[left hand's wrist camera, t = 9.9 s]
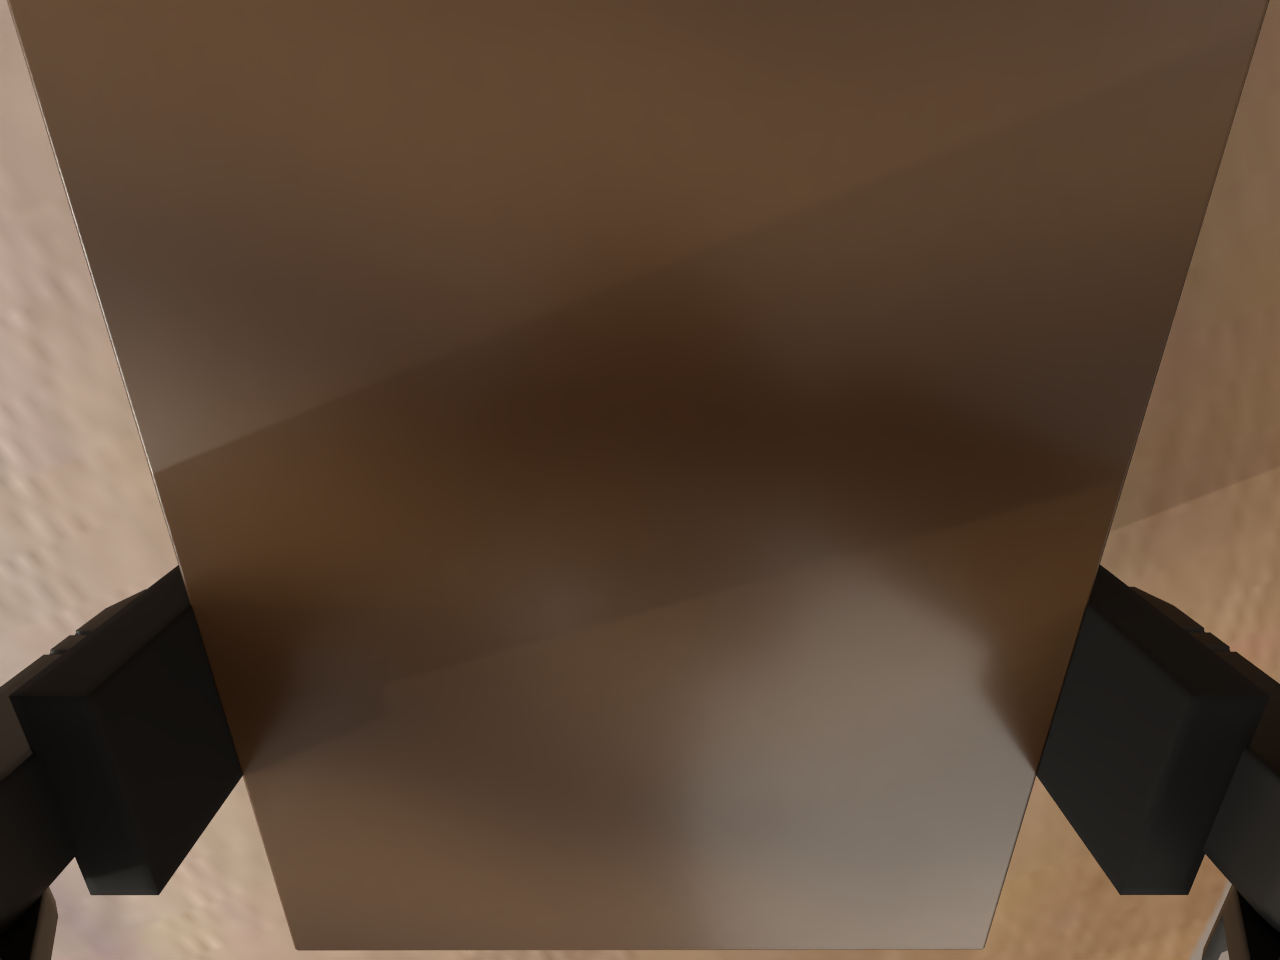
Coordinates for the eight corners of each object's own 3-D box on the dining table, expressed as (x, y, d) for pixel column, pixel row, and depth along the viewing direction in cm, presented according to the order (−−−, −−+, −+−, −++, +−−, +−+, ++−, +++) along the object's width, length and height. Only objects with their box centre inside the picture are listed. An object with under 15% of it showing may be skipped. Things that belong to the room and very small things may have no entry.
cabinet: (297, -348, 11) (-470, -1550, 3) (979, -349, 11) (1744, -1560, 3) (436, 637, 18) (294, 951, 11) (842, 636, 18) (985, 951, 11)
